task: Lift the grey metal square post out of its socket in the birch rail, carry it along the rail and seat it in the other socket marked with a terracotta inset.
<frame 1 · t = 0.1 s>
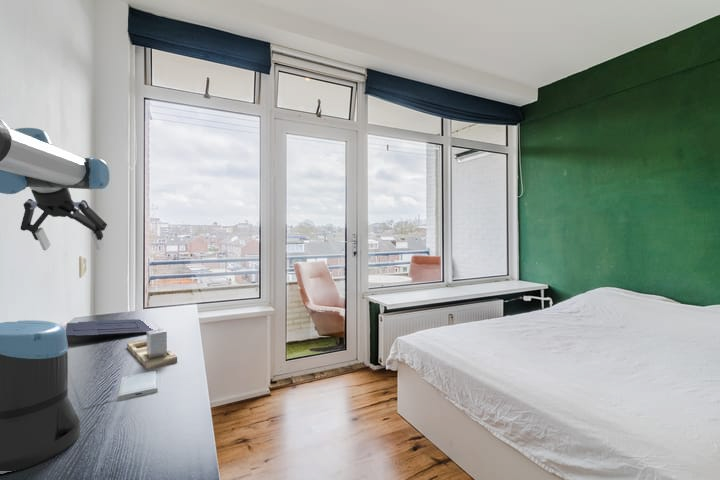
hand: (74, 247, 103), 36 cm above the dresser, fingers open, 13 cm apart
hard drive: (138, 388, 88), on the dresser
rail: (150, 356, 109), on the dresser
post: (156, 360, 104), point 1 cm above the dresser, touching rail
dark grey flat slab: (114, 332, 135), on the dresser
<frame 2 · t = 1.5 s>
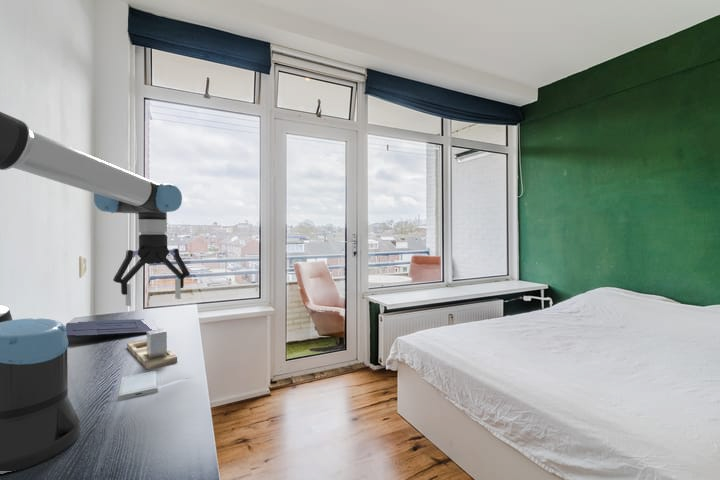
hand: (154, 301, 104), 19 cm above the dresser, fingers open, 13 cm apart
nothing on the dresser moved.
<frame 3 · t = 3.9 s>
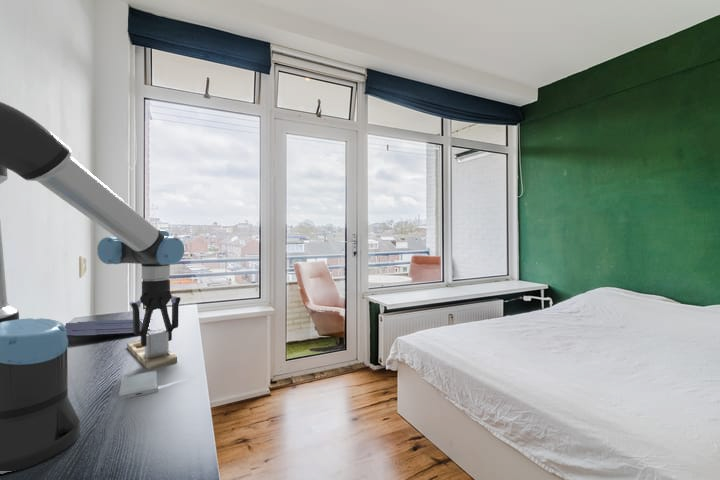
hand: (156, 353, 104), 3 cm above the dresser, fingers closed on post, 4 cm apart
post: (156, 360, 104), point 1 cm above the dresser, touching gripper, rail
everything else where it was.
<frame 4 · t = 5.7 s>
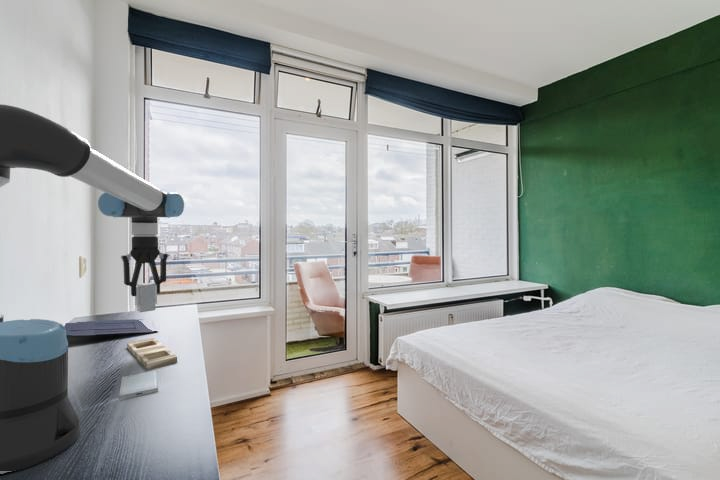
hand: (146, 304, 113), 16 cm above the dresser, fingers closed on post, 4 cm apart
post: (146, 310, 113), point 14 cm above the dresser, touching gripper
everything else where it was.
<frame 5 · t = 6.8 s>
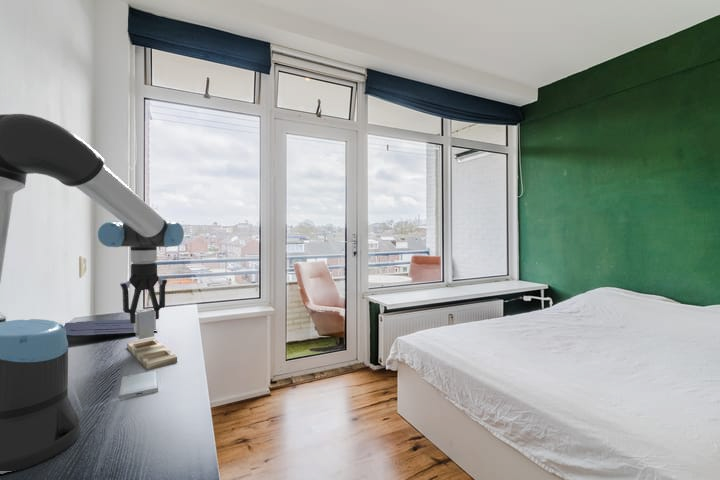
hand: (145, 330, 114), 7 cm above the dresser, fingers closed on post, 4 cm apart
post: (145, 336, 114), point 5 cm above the dresser, touching gripper
everything else where it was.
when the fingers open (4 cm above the dresser, at t = 7.7 s): post drops 1 cm, resting on rail.
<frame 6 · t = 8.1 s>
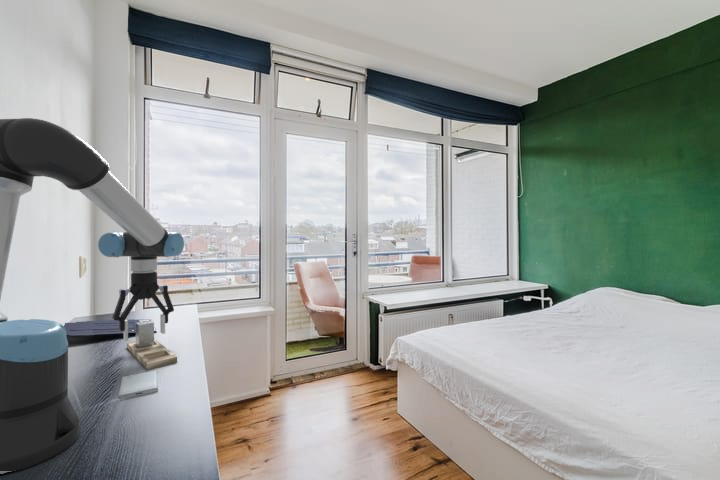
hand: (144, 336, 114), 5 cm above the dresser, fingers open, 10 cm apart
post: (145, 348, 114), point 1 cm above the dresser, touching rail
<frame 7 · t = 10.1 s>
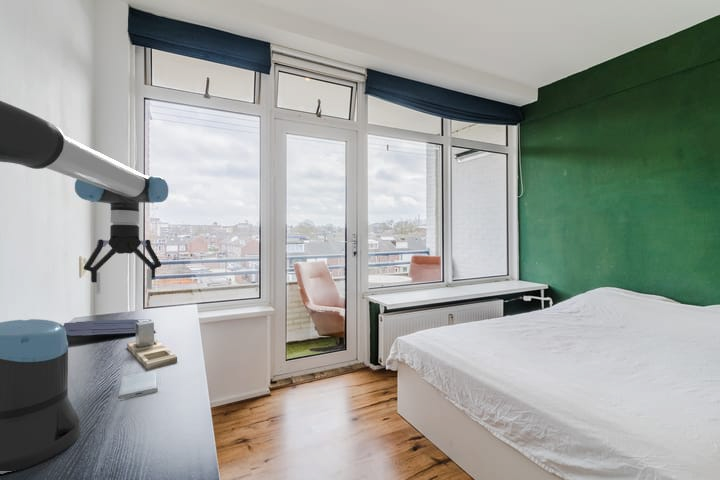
hand: (124, 290, 106), 22 cm above the dresser, fingers open, 13 cm apart
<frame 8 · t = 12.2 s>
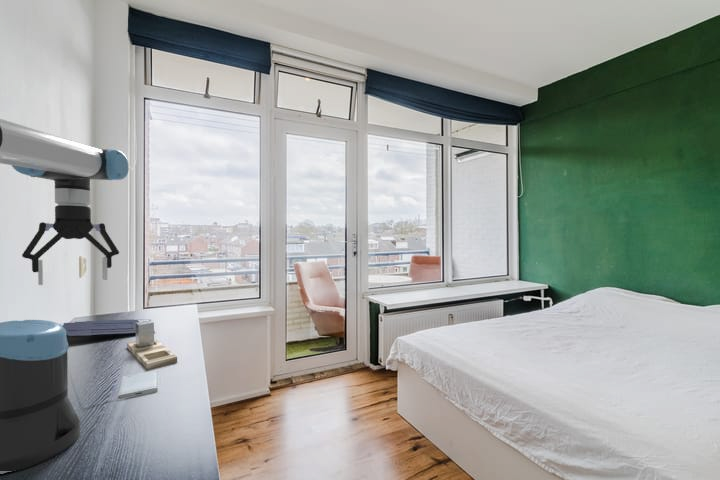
hand: (74, 281, 93), 27 cm above the dresser, fingers open, 13 cm apart
at the end: post 0.0 cm from the target spot on the rail, point 0.7 cm above the rail's base; post tilted 0°; the gripper is holding nothing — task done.
